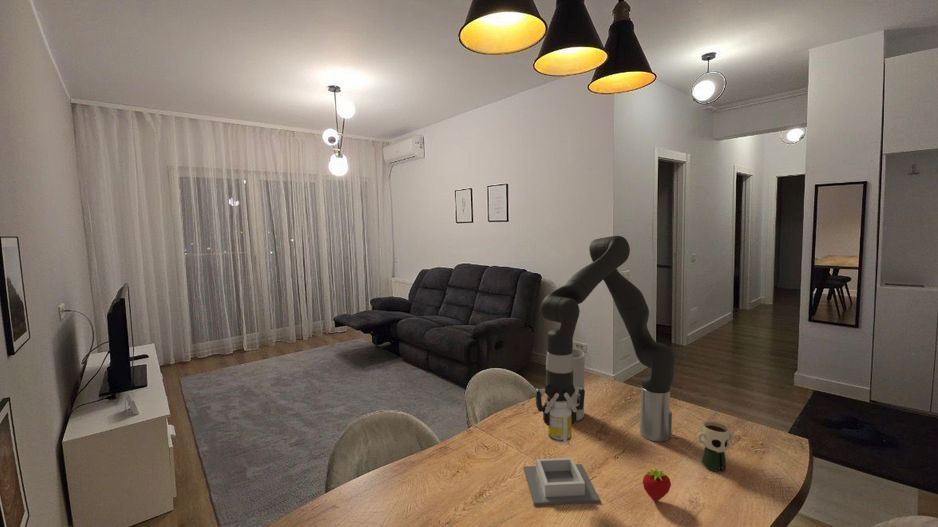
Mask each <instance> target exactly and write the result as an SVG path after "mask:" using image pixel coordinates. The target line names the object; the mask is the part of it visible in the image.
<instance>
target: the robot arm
mask: <svg viewBox="0 0 938 527" xmlns="http://www.w3.org/2000/svg"><path fill="white" fill-rule="evenodd" d="M588 248H589V249H588V250H589V256H590V258H591V263H590V264H588V265H586V266H584V267H583V268H581V269H579V270H577V272H576V273H574V274H573V275H572V276H571V277H570V278H569V279H568V280H567V282H566V283H565V284H564V285H562V286H560V287H558V288H557V289H555V290H553V291H552V292H550V293H548V294H547V295H546V296H545V297H544V298H543V299H542V302H541V304H540V311H539V312H540V315H541V316H542V318H544V319H545V320H547V321H549V322H550V321H551V322H554V323H555V322H556V323H560V327H559V328H555V329H554V328H553V329H550V330H548V331H547V334H546V358H545V387H544V388H539V387H535V389H534V395H535V405H536V408H537V410H538V412H542V417H543V418H542V419H543V423H544V424H545V425H546V426H548V425H549V410H550V409H551V407H553V405H554V403H555V401H567V402H568V404H569V405H570V407H571V413H572V425H575V423H576V422H577V421H576V412H577V411H578V410H582V409H583V406H584V407H585V395H586V390H585V388H584V389H583V388H582V386H579V387H574V386H573V368H574V361H573V348H574V347H573V345H574V344H573V343H574V342H573V340H574V334H575V330H576V326H577V324H578V321H579V320H578V319H579V318H580V313H581V312H580V307H579V305H580V304H582V303H583V302H584V301H586V299H587V298H588V297H589V296H590V294H592V292H593V291H594V289H595V288H596V287H597V286H598V285H599V284H600V283H601V282H602V281H603V282H604V284H605V285H606V287H607V290H608V291H609V293H610V295H611V297H612V299H613V302H614V304H615V307H616V309H617V312H618V314H619V316H620V318H621V319H622V322H623V324H624V326H625V329H626V330H627V333H628V336H629V337H630V340H631V342H632V346H633V350H634V352H635V356H636V357H637V360H638V361H639V363H641V365H643V366H644V367H648V368H649V369H651V372H650V375H645V376H642V378H641V381H640V414H639V415H640V417H639V418H640V420H639V433H640V436H642V437H643V438H645V440H650V441H652V442H661V443H662V442H666V441H667V440H670V439H672V432H673V429H672V427H673V413H672V412H673V411H671V410H670V405H671V386H672V384H673V381H674V372H675V364H676V363H675V361H676V358H675V352H674V351H673V349H672V347H670V346H668V345H665V344H663V343H661V342H658V341H656V340H655V339H654V338H653V337H652V335H651V333H650V331H649V328H648V321H649V317H650V310H649V306H648V303H647V301H646V298H645V297H644V294H643V293H642V291H641V290H640V289H639V288H638V287H637V286H636V285H635V284H633V282H631V281H630V280H628V279H627V278H626V277H625V276H624V275H622V274H621V273H620V271H619V269H618V268H619V267H621V266H622V265H623V264H625V262H626V261H627V260H628V259H629V257H630V251H631V250H630V249H631V248H630V244H629V242H628V240H627V239H626V238H625V237H624V236H622V235H612V236H606V237H599V238H596V239H594V240H592V241H591V242H590V244H589V247H588ZM574 392H576V394H577V404H574V403H573V402H572V400H571V396H572V395H573V394H574ZM545 394H546V396H547V397H546V399H545V402H544V404H543V402H542V398H543V397H544V395H545Z"/></svg>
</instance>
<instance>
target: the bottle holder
mask: <svg viewBox="0 0 938 527" xmlns="http://www.w3.org/2000/svg"><path fill="white" fill-rule="evenodd" d="M583 466H584V465H583V464H582V463H575V460H574V458H573V457H560V458H559V457H558V458H556V457H554V458H552V457H551V458H537V459H535V465H530V466H529V465H527V466H523V471H524V475H525V479H526V482H527V485H528V490H529V493H530V495H531V496H530V497H531V500H532V503H533V506H551V505H573V504H574V505H575V504H594V503H595V504H597V503H598V504H599V503H601V499H600V497H599V495H598V493H597V491H596V489H595V487H594V485H593V484H592V482H591V479H590V477H589V476H588V474H587V472H586V470H585V468H584V467H583Z"/></svg>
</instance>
